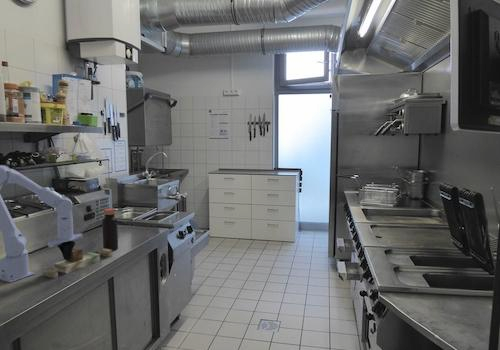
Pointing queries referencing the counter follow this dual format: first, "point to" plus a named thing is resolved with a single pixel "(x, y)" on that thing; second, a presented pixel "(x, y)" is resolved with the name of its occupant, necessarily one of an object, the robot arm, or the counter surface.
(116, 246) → the bottle
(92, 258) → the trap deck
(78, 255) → the walnut block
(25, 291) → the counter surface
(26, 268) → the robot arm
